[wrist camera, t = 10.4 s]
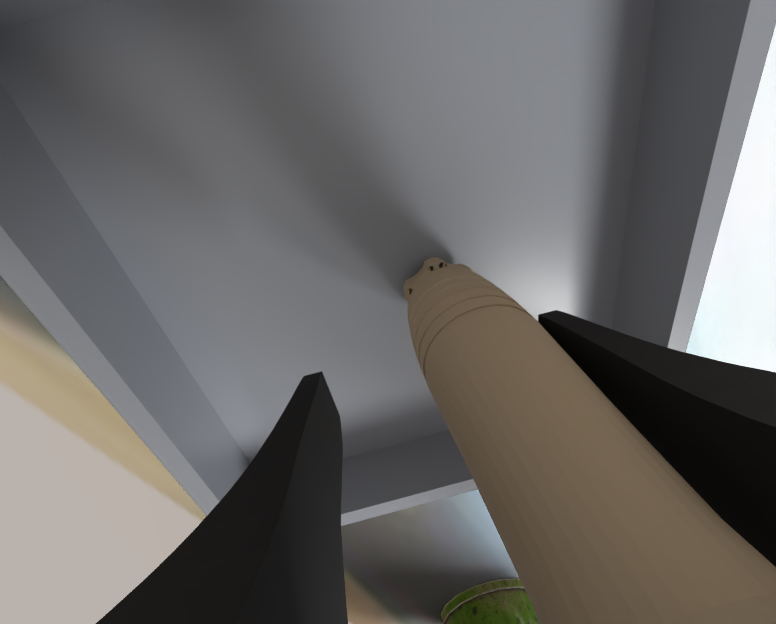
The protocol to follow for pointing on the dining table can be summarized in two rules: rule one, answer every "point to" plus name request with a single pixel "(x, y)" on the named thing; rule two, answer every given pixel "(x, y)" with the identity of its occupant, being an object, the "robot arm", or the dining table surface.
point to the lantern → (491, 604)
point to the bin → (353, 198)
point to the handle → (573, 472)
